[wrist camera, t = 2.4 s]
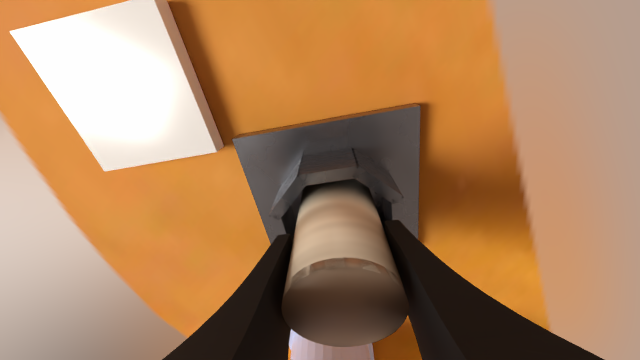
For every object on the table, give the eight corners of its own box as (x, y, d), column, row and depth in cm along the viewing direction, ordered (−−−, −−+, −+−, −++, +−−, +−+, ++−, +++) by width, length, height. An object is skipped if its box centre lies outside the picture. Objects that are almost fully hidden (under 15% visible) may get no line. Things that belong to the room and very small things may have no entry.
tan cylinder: (374, 225, 15) (409, 342, 9) (308, 234, 15) (297, 350, 9) (368, 165, 13) (408, 259, 7) (293, 176, 13) (265, 275, 7)
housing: (413, 243, 17) (432, 282, 14) (281, 259, 18) (272, 298, 15) (414, 103, 12) (443, 116, 9) (237, 135, 13) (211, 155, 10)
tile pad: (224, 146, 13) (216, 151, 13) (118, 164, 14) (104, 171, 13) (167, 0, 10) (152, -5, 9) (35, 34, 11) (9, 31, 10)
